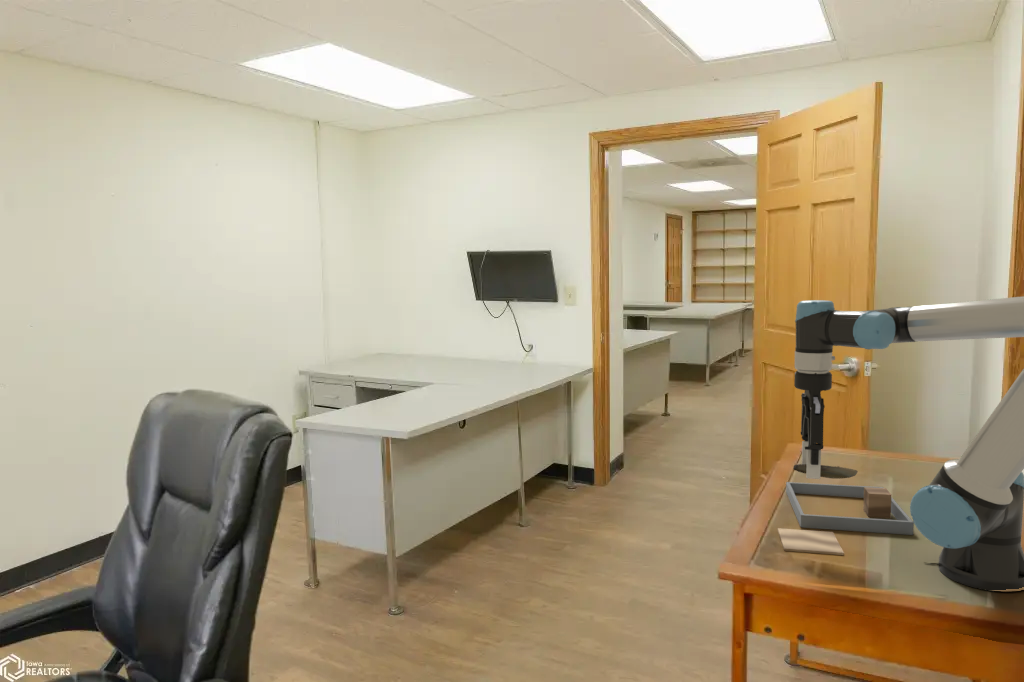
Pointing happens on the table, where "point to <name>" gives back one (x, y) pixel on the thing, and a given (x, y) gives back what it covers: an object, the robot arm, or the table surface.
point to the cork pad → (810, 541)
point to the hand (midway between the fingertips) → (810, 473)
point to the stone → (829, 471)
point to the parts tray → (846, 523)
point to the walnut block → (877, 502)
